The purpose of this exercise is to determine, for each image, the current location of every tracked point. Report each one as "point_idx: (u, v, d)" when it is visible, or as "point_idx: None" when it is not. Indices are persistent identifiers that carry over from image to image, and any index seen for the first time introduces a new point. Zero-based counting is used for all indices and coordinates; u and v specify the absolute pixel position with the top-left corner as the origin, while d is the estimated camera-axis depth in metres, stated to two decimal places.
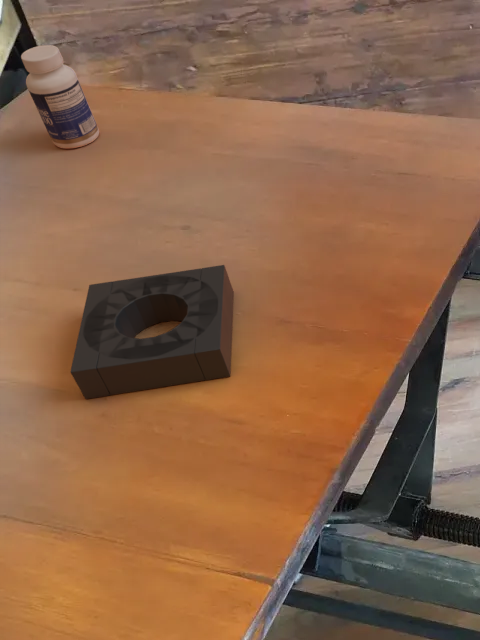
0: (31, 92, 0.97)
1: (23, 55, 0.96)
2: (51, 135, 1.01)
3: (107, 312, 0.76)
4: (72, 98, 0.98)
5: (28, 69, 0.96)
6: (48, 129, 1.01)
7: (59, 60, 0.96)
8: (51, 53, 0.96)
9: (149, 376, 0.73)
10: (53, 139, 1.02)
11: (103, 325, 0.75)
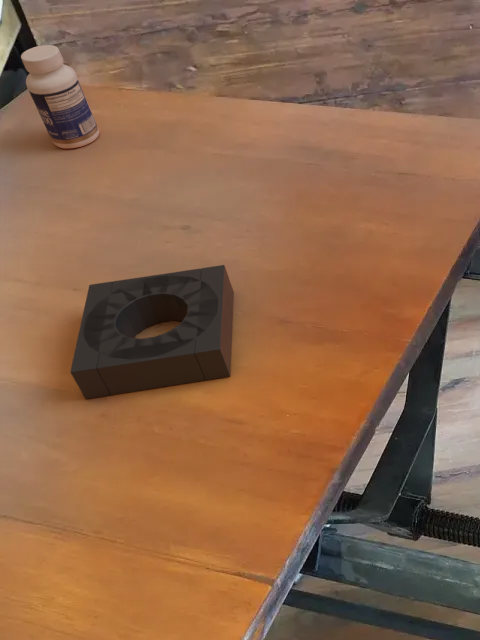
0: (31, 92, 0.97)
1: (23, 55, 0.96)
2: (51, 135, 1.01)
3: (107, 312, 0.76)
4: (72, 98, 0.98)
5: (28, 69, 0.96)
6: (48, 129, 1.01)
7: (59, 60, 0.96)
8: (51, 53, 0.96)
9: (149, 376, 0.73)
10: (53, 139, 1.02)
11: (103, 325, 0.75)
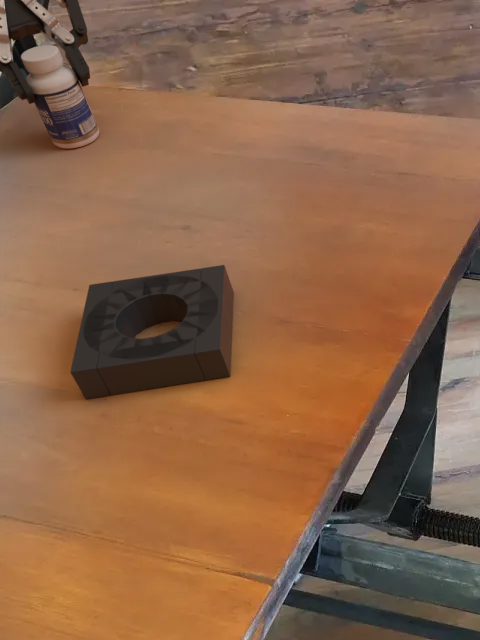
0: None
1: (23, 55, 0.96)
2: (51, 135, 1.01)
3: (107, 312, 0.76)
4: (71, 98, 0.98)
5: (28, 69, 0.96)
6: (48, 129, 1.01)
7: (59, 60, 0.96)
8: (51, 53, 0.96)
9: (149, 376, 0.73)
10: (53, 139, 1.02)
11: (103, 325, 0.75)
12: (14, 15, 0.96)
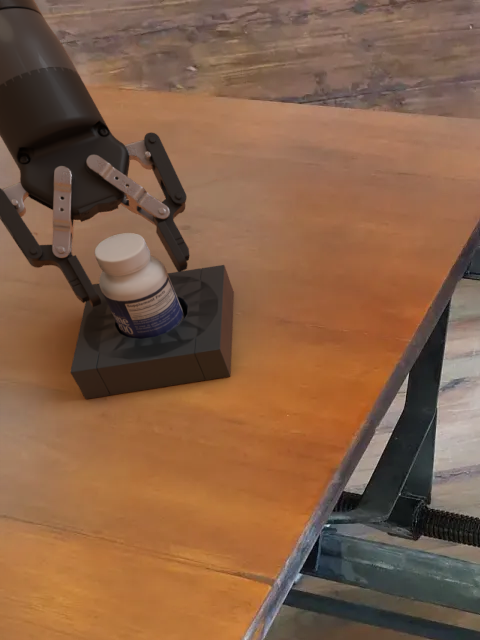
0: (106, 297, 0.72)
1: (97, 251, 0.70)
2: None
3: (107, 312, 0.76)
4: (160, 302, 0.73)
5: (104, 270, 0.70)
6: None
7: (145, 256, 0.71)
8: (136, 248, 0.70)
9: (149, 376, 0.73)
10: None
11: (103, 325, 0.75)
12: (84, 191, 0.69)
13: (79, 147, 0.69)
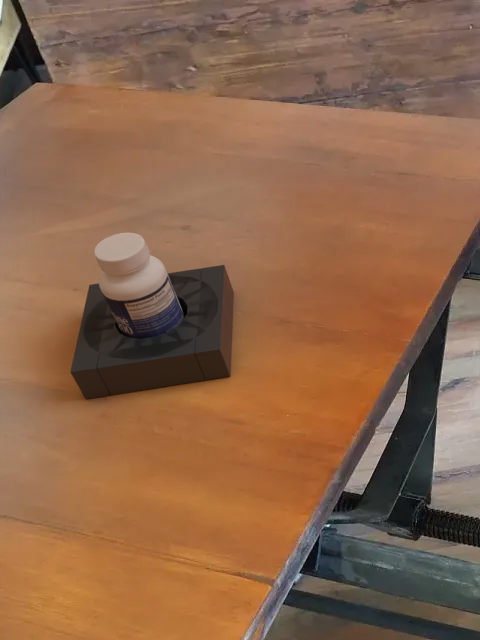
0: (106, 296, 0.72)
1: (97, 250, 0.70)
2: None
3: (107, 312, 0.76)
4: (160, 302, 0.73)
5: (103, 269, 0.70)
6: None
7: (145, 256, 0.71)
8: (135, 248, 0.70)
9: (149, 376, 0.73)
10: None
11: (103, 325, 0.75)
12: None
13: None
